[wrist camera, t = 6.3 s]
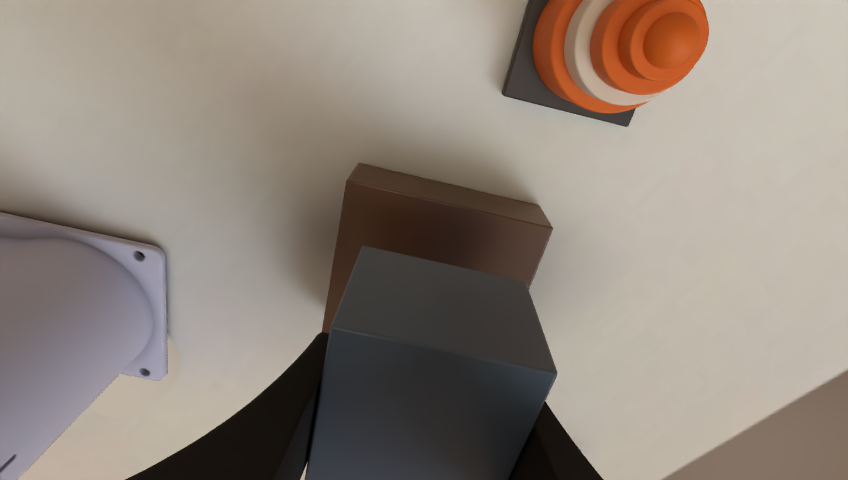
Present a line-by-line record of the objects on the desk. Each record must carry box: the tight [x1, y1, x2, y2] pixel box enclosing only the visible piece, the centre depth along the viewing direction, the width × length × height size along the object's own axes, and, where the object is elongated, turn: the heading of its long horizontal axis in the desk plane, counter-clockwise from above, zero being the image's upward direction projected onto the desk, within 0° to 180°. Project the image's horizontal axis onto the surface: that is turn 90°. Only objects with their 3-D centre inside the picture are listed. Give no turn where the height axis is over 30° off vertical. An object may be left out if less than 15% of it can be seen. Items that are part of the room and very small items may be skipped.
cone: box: [502, 0, 709, 127], centre depth 13 cm, size 5×5×7 cm
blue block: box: [305, 246, 557, 480], centre depth 12 cm, size 5×6×4 cm
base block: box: [322, 163, 553, 333], centre depth 19 cm, size 8×8×2 cm
